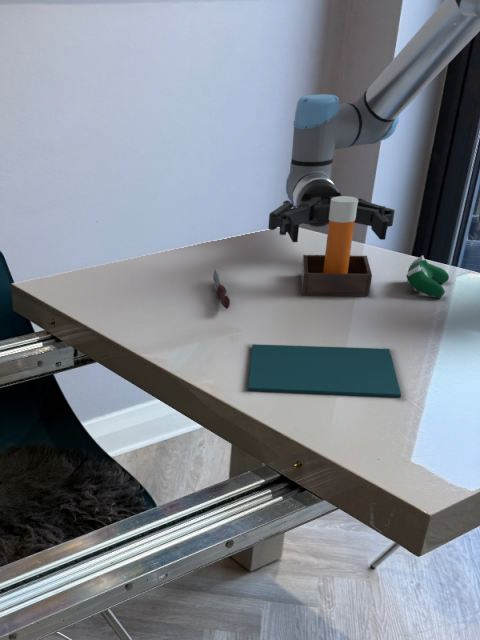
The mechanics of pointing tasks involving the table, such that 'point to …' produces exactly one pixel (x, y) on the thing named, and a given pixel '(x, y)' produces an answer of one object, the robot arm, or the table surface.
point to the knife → (221, 291)
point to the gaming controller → (427, 278)
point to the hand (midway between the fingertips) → (339, 232)
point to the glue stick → (340, 234)
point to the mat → (323, 370)
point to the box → (335, 277)
